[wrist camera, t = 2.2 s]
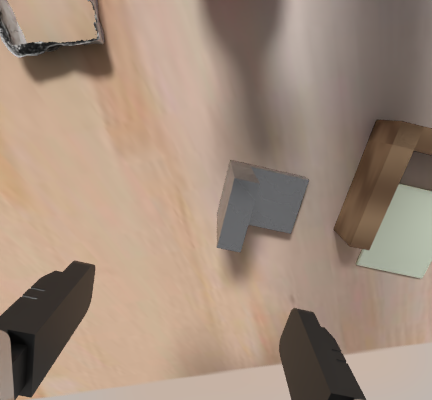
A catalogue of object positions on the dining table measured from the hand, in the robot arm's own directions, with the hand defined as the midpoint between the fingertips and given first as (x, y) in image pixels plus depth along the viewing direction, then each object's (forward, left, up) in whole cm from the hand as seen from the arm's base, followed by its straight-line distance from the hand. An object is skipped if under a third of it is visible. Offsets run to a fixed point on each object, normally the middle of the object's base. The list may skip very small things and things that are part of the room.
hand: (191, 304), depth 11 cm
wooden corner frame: (-4, +22, -19) cm, 29 cm away
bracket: (0, +6, -19) cm, 20 cm away
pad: (0, +23, -19) cm, 30 cm away
